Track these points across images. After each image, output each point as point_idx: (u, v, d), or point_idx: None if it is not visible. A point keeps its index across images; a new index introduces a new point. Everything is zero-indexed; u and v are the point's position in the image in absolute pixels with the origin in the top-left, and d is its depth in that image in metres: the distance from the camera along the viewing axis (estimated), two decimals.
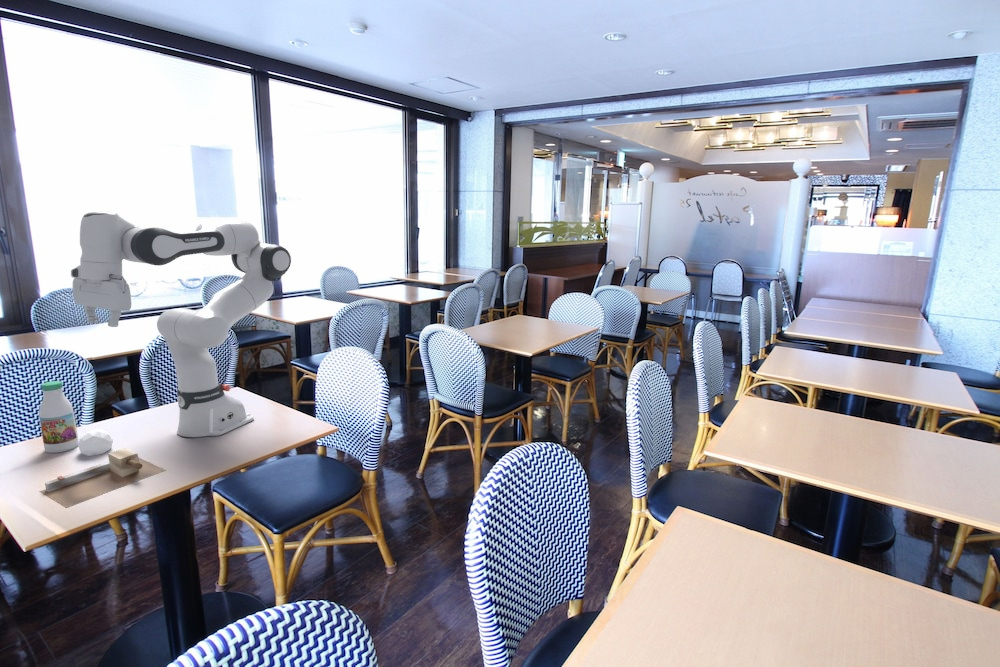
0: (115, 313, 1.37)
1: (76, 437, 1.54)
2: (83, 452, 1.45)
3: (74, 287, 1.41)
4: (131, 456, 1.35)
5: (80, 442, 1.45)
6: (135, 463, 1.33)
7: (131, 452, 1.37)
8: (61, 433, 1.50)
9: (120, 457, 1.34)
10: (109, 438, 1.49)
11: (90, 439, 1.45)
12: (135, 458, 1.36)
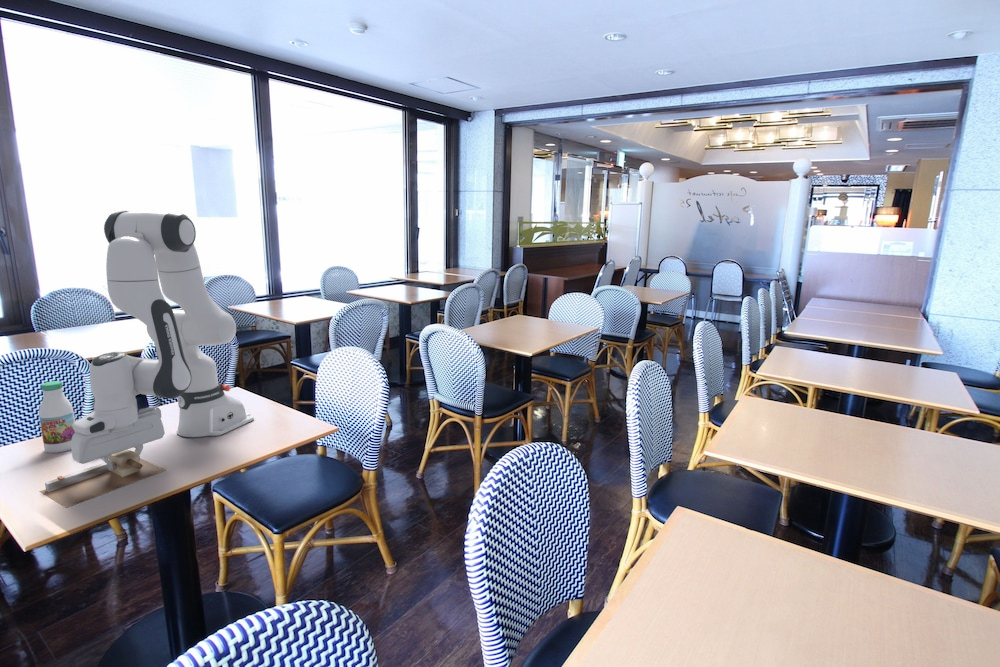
0: None
1: None
2: None
3: (85, 445, 1.27)
4: (131, 456, 1.35)
5: None
6: (135, 463, 1.33)
7: (131, 452, 1.37)
8: (61, 433, 1.50)
9: (120, 457, 1.34)
10: None
11: None
12: (135, 458, 1.36)
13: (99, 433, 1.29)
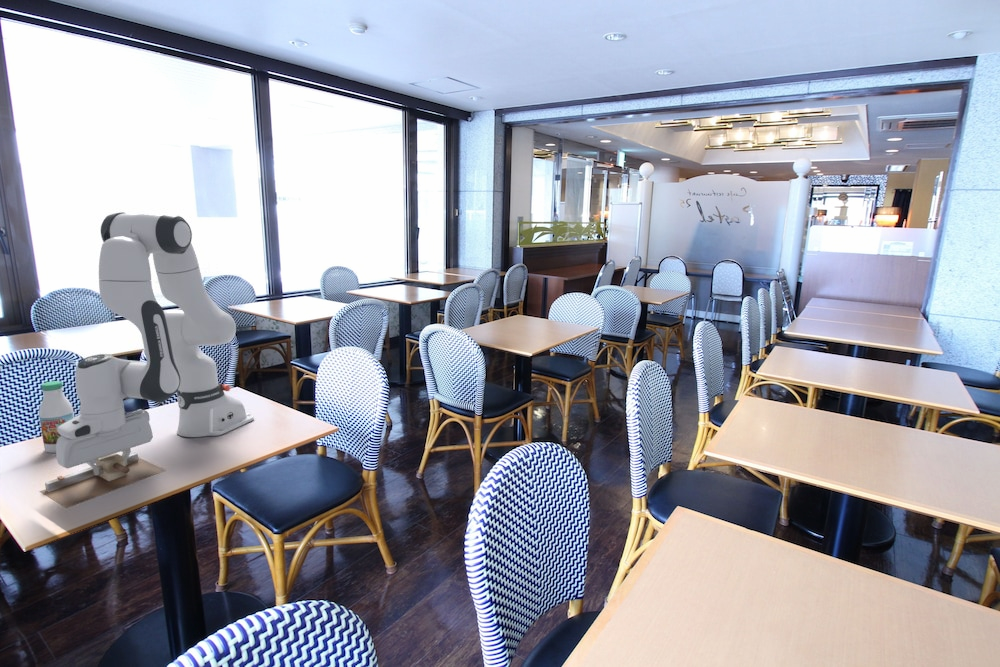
0: None
1: None
2: None
3: (70, 450, 1.24)
4: (118, 459, 1.33)
5: None
6: (122, 467, 1.30)
7: (118, 456, 1.34)
8: None
9: (107, 461, 1.31)
10: None
11: None
12: (122, 462, 1.34)
13: (85, 437, 1.26)
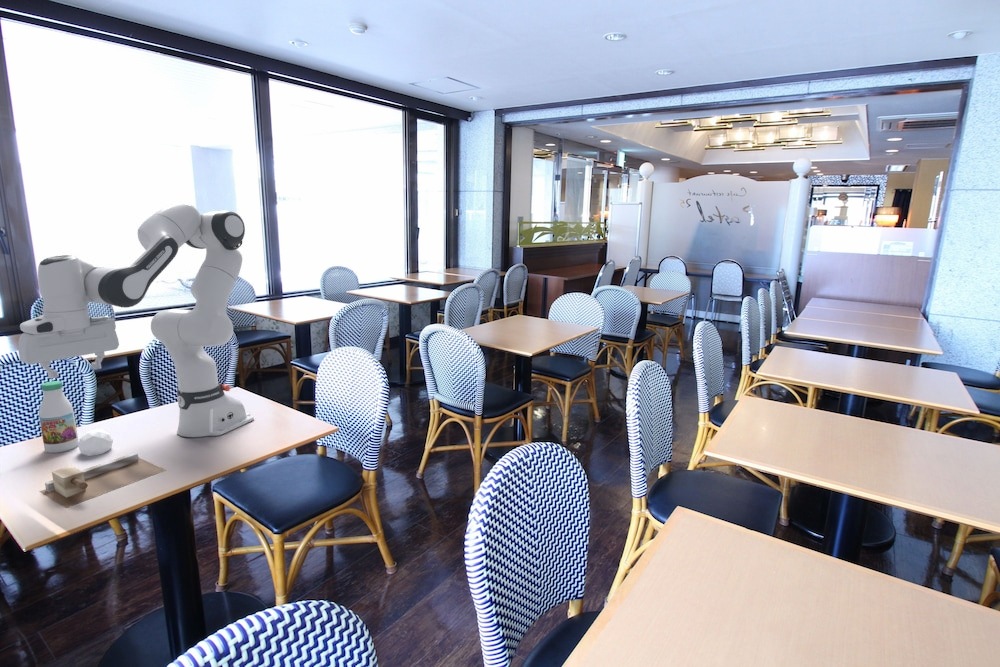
0: None
1: (76, 437, 1.54)
2: (83, 452, 1.45)
3: (32, 345, 1.25)
4: (76, 474, 1.25)
5: (80, 442, 1.45)
6: (80, 483, 1.23)
7: (77, 470, 1.27)
8: (61, 433, 1.50)
9: (64, 476, 1.24)
10: (109, 438, 1.49)
11: (90, 439, 1.45)
12: (81, 477, 1.26)
13: (47, 334, 1.27)
